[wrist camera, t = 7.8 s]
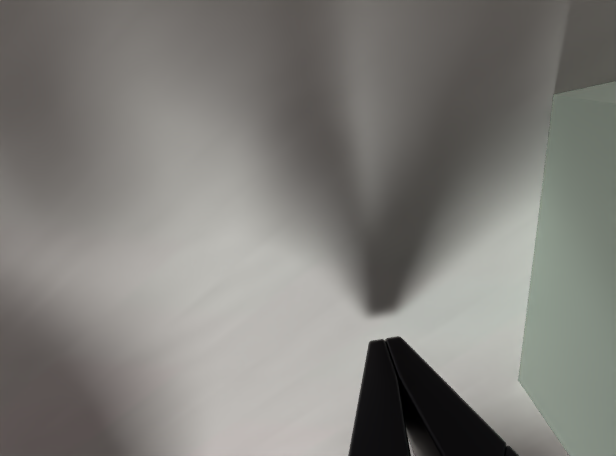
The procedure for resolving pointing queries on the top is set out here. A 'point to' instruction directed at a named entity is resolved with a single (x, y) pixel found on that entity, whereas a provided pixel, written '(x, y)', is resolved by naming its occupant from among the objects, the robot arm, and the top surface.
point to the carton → (576, 277)
